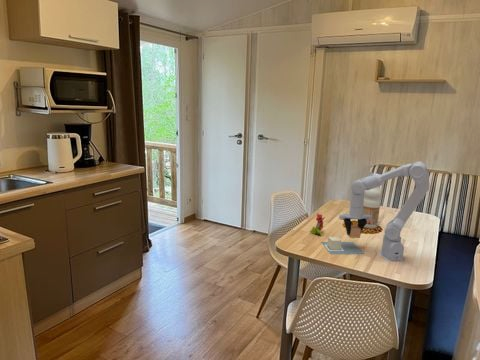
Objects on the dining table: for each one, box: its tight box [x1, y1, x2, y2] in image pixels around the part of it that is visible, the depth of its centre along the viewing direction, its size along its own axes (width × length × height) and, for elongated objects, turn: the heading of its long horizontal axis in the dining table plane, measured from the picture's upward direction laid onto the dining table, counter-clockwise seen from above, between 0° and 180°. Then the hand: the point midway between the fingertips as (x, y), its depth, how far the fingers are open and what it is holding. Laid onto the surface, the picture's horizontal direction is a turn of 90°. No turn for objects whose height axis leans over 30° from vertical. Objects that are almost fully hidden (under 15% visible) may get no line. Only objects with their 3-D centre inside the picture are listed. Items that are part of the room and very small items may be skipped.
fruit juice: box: [362, 186, 382, 230], centre depth 198 cm, size 9×9×28 cm
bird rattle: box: [309, 213, 326, 237], centre depth 185 cm, size 6×11×9 cm
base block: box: [327, 236, 342, 250], centre depth 167 cm, size 4×4×4 cm
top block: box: [346, 224, 362, 239], centre depth 167 cm, size 4×4×4 cm
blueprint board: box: [320, 241, 365, 255], centre depth 168 cm, size 14×16×1 cm
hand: (353, 234), depth 168 cm, fingers closed on top block, 4 cm apart
